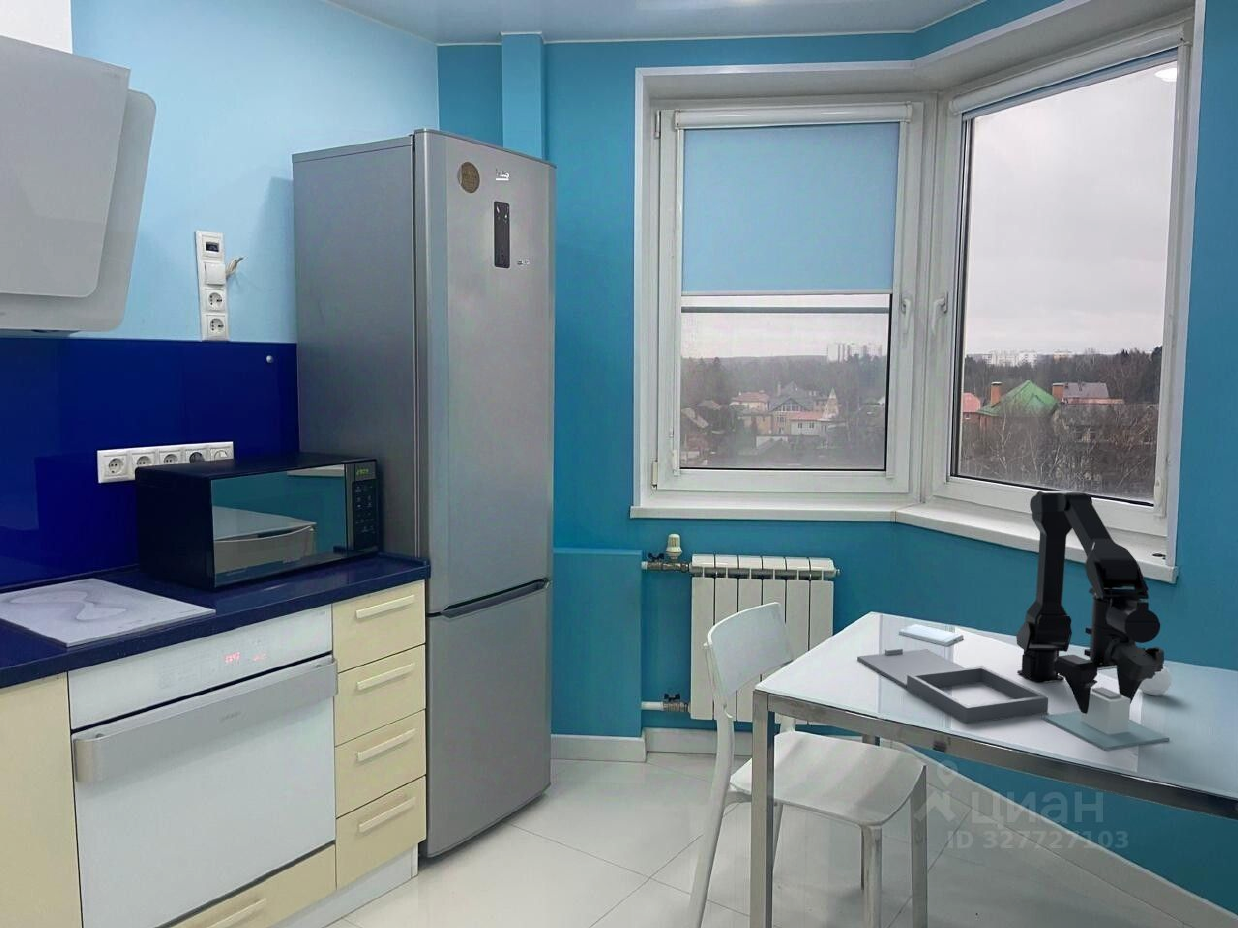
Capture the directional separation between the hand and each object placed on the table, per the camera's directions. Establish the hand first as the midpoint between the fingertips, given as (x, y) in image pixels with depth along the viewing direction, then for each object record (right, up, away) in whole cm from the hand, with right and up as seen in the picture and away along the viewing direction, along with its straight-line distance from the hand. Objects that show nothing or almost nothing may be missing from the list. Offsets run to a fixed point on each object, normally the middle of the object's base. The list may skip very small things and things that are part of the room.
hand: (1104, 710), depth 152 cm
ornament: (+19, -2, +17) cm, 26 cm away
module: (0, -3, 0) cm, 3 cm away
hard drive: (-11, +1, +55) cm, 56 cm away
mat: (0, -4, 0) cm, 4 cm away
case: (-20, -1, +23) cm, 30 cm away
